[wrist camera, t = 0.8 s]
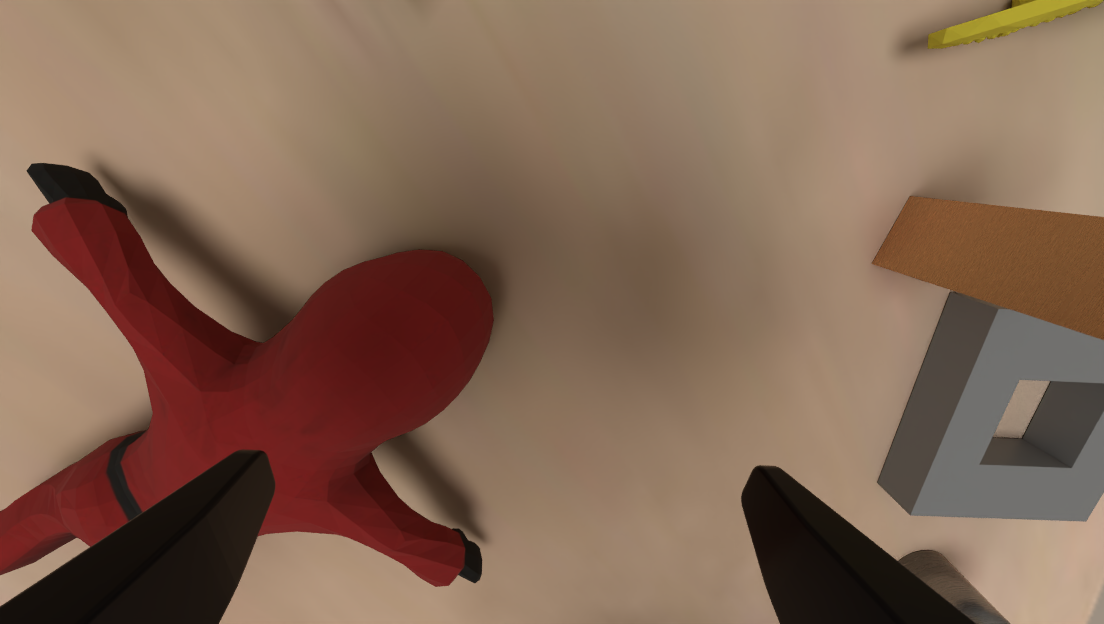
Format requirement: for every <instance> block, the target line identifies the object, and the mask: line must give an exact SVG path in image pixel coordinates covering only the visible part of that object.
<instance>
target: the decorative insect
mask: <svg viewBox="0 0 1104 624" xmlns="http://www.w3.org/2000/svg"><path fill="white" fill-rule="evenodd" d="M1102 1H1104V0H1012V8H1010V9H1007V10H1004V11H1001V12H997V13H994V14H991V15H988V16H985V17H981V18H978V19H975V20H972V21H969V22H965V23H962V24H959V25H956V26H953V27H949V28H946V29H943V30H940V31H937V32H934V33H931V34H929V36H928V49H933V48H946V47H950V46H957V45H959V44H962V43H963V44H969V43H971V42H972V41H974V40H975V42H978V43H979V42H981V41H983V40H984V39H985V38H986V37H987V38H988V39H994V38H995V37H1000V36H1006V35H1008V34H1010V32H1011V33H1012V32H1016V31H1018V30H1019V29H1020V28H1025V27H1027V26H1037V25H1038V24H1039V23H1040V22H1049V21H1052V20H1054V19H1055V18H1057V17H1059V18H1062V17H1064V16H1065V15H1067V14H1068V15H1070V14H1073V13H1076V12H1077V11H1080V10H1081V9H1082V8H1085V7H1088V8H1092V7H1096V6H1097V5H1099V4H1100V3H1102Z"/></svg>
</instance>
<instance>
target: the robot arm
mask: <svg viewBox="0 0 1104 624" xmlns="http://www.w3.org/2000/svg"><path fill="white" fill-rule="evenodd" d="M274 492H275V479H274V475H273V472H272V469H271V466H270V462H269V459H268V456H267V454H266V453H265V452H264V451H262V450H238V451H235V452H234V453H232V454H230V455H229V456H227V457H226V458H224V459H223V460H221V461H220V462H218V463H217V464H215V465H214V466H212V467H211V468H209V469H208V470H206V471H205V472H203V473H201V474H200V475H198V476H197V477H195V478H194V479H192V480H191V481H189V482H188V483H186V484H185V485H183V486H182V487H180V488H179V489H177V490H176V491H174V492H173V493H171V494H170V495H168V496H167V497H165V498H164V499H162V500H161V501H159V502H158V503H156V504H155V505H153V506H152V507H150V508H149V509H147V510H145V511H144V512H142V513H141V514H139V515H138V516H136V517H135V518H133V519H132V520H130V521H129V522H127V523H126V524H124V525H123V526H121V527H120V528H118V529H117V530H115V531H114V532H112V533H111V534H109V535H108V536H106V537H105V538H103V539H102V540H100V541H99V542H97V543H96V544H94V545H93V546H91V547H89V548H88V549H86V550H85V551H83V552H82V553H80V554H79V555H77V556H76V557H74V558H73V559H71V560H70V561H68V562H67V563H65V564H64V565H62V566H61V567H59V568H58V569H56V570H55V571H53V572H52V573H50V574H49V575H47V576H46V577H44V578H43V579H41V580H40V581H38V582H37V583H35V584H34V585H32V586H30V587H29V588H27V589H26V590H24V591H23V592H21V593H20V594H18V595H17V596H15V597H14V598H12V599H11V600H9V601H8V602H6V603H5V604H3V605H2V606H0V624H219V622H220V620H221V618H222V616H223V614H224V612H225V610H226V609H227V607H228V605H229V603H230V601H231V599H232V596H233V594H234V592H235V590H236V588H237V586H238V584H239V581H240V579H241V577H242V574H243V572H244V569H245V567H246V564H247V562H248V559H249V557H250V554H251V552H252V549H253V547H254V544H255V542H256V539H257V536H258V534H259V531H260V529H261V526H262V524H263V521H264V519H265V516H266V514H267V511H268V509H269V506H270V503H271V501H272V498H273V496H274ZM741 502H742V507H743V511H744V514H745V518H746V521H747V525H748V528H749V532H750V535H751V538H752V542H753V545H754V549H755V552H756V556H757V559H758V563H759V566H760V570H761V573H762V576H763V579H764V582H765V586H766V589H767V591H768V594H769V597H770V599H771V602H772V605H773V607H774V610H775V612H776V615H777V617H778V620H779V622H780V624H976V623H975V622H974V621H972V620H971V619H970V618H969V617H967V616H966V615H965V614H964V613H962V612H961V611H960V610H959V609H957V608H956V607H955V606H954V605H952V604H951V603H950V602H948V601H947V600H946V599H945V598H943V597H942V596H941V595H940V594H938V593H937V592H936V591H935V590H933V589H932V588H931V587H930V586H928V585H927V584H926V583H925V582H923V581H922V580H921V579H919V578H918V577H917V576H916V575H914V574H913V573H912V572H911V571H909V570H908V569H907V568H906V567H904V566H903V565H902V564H901V563H899V562H898V561H897V560H896V559H894V558H893V557H892V556H891V555H889V554H888V553H887V552H885V551H884V550H883V549H882V548H880V547H879V546H878V545H877V544H875V543H874V542H873V541H872V540H870V539H869V538H868V537H867V536H865V535H864V534H863V533H862V532H860V531H859V530H858V529H856V528H855V527H854V526H853V525H851V524H850V523H849V522H848V521H846V520H845V519H844V518H843V517H841V516H840V515H839V514H838V513H836V512H835V511H834V510H833V509H831V508H830V507H829V506H827V505H826V504H825V503H824V502H822V501H821V500H820V499H819V498H817V497H816V496H815V495H814V494H812V493H811V492H810V491H809V490H807V489H806V488H805V487H804V486H802V485H801V484H800V483H798V482H797V481H796V480H795V479H793V478H792V477H791V476H790V475H788V474H787V473H786V472H785V471H783V470H782V469H781V468H779V467H776V466H761V465H759V466H756V467H755V468H754V469H753V470H752V472H751V475H750V477H749V479H748V481H747V483H746V485H745V487H744V489H743V492H742V496H741Z"/></svg>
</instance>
